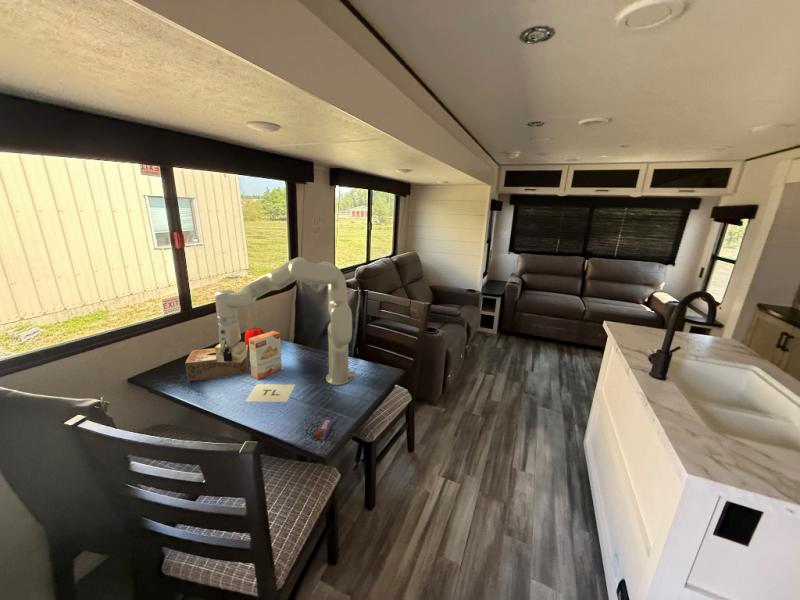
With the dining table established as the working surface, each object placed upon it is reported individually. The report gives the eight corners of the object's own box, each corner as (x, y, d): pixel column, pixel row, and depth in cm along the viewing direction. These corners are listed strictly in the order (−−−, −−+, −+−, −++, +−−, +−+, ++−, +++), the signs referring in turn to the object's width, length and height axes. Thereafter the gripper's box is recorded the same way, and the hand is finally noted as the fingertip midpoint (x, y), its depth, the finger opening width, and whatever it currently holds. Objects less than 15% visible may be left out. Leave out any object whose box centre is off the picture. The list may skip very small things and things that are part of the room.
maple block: (246, 356, 138) (245, 342, 136) (240, 362, 132) (239, 347, 130) (223, 355, 137) (221, 341, 135) (216, 362, 131) (214, 347, 129)
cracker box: (258, 380, 149) (255, 341, 144) (251, 376, 152) (247, 338, 147) (282, 369, 161) (280, 332, 155) (275, 366, 164) (273, 329, 158)
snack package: (324, 416, 124) (336, 418, 123) (324, 420, 124) (336, 422, 123) (311, 435, 113) (324, 437, 112) (311, 439, 113) (324, 442, 112)
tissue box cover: (187, 382, 146) (184, 363, 143) (194, 368, 158) (192, 350, 156) (247, 374, 155) (246, 356, 153) (249, 361, 168) (248, 344, 165)
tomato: (258, 353, 177) (256, 332, 174) (240, 350, 180) (238, 329, 177) (271, 345, 188) (269, 325, 185) (253, 342, 191) (252, 323, 187)
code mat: (295, 384, 147) (295, 384, 147) (286, 401, 134) (286, 401, 134) (257, 384, 146) (257, 384, 146) (244, 401, 133) (244, 401, 132)
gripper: (227, 326, 121) (231, 367, 126) (245, 313, 138) (248, 349, 143) (207, 326, 121) (212, 367, 126) (228, 312, 137) (232, 349, 142)
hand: (231, 357), depth 134 cm, fingers closed on maple block, 6 cm apart
